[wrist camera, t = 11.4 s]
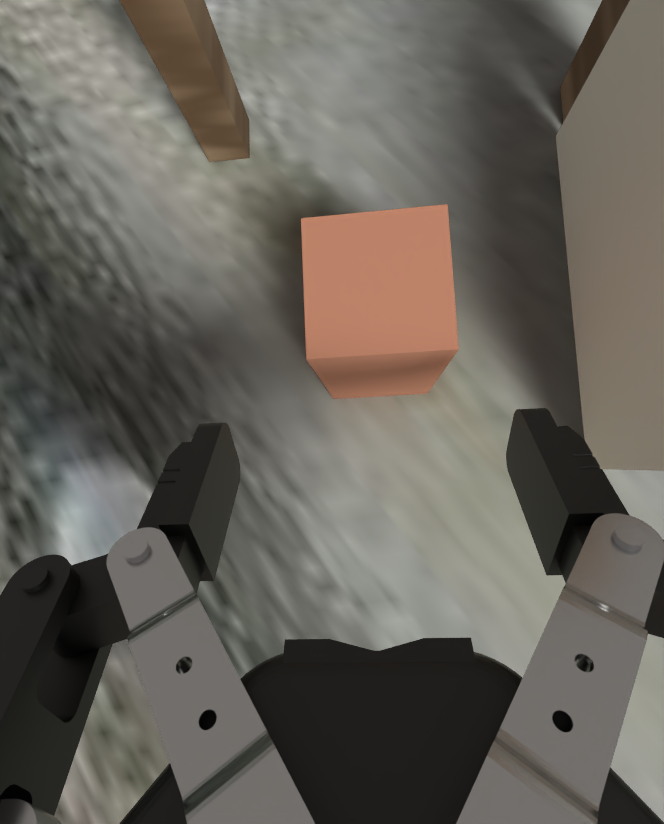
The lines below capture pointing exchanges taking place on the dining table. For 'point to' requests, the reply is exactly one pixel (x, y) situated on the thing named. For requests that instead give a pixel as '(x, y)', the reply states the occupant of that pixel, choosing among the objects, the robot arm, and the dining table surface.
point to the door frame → (215, 87)
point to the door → (619, 241)
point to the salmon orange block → (379, 300)
